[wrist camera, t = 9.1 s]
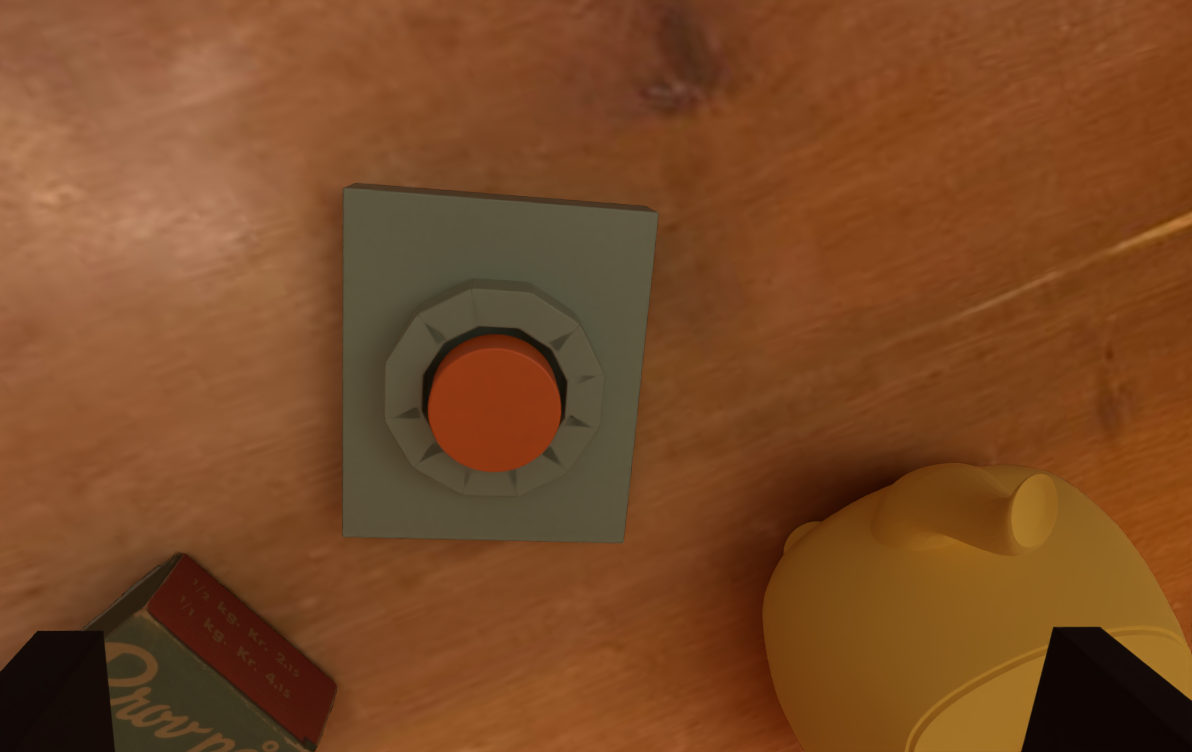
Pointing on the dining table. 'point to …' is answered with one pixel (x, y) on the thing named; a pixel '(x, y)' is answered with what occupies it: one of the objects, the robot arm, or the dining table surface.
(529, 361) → the button
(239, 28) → the dining table surface
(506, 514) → the housing
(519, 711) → the dining table surface
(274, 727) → the carton
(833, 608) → the teapot
